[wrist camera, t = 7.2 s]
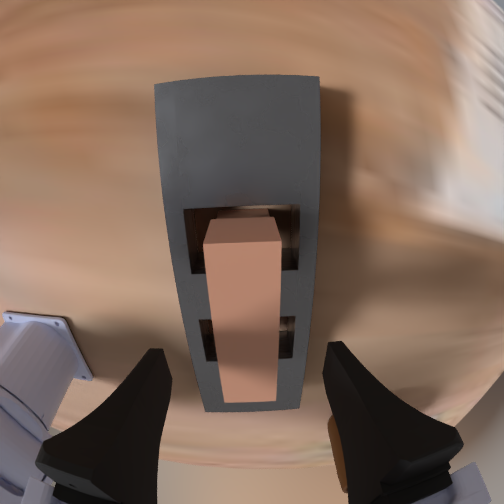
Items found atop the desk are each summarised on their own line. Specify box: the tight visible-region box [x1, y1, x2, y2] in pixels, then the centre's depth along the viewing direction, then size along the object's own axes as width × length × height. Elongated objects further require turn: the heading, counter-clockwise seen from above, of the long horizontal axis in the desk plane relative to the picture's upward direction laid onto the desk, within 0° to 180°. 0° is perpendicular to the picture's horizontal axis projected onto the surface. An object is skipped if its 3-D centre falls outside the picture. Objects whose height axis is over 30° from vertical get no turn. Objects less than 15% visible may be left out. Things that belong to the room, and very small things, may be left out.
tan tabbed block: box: [203, 209, 282, 403], centre depth 16 cm, size 3×10×7 cm, turn 1°
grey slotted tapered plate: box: [154, 75, 321, 412], centre depth 18 cm, size 8×24×3 cm, turn 2°
